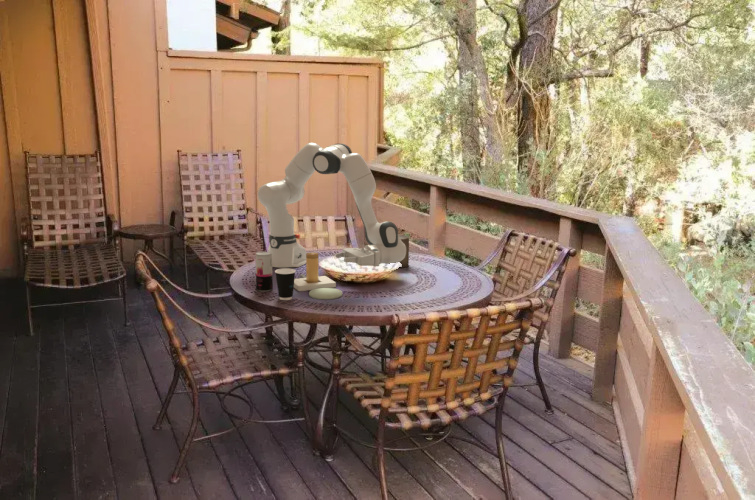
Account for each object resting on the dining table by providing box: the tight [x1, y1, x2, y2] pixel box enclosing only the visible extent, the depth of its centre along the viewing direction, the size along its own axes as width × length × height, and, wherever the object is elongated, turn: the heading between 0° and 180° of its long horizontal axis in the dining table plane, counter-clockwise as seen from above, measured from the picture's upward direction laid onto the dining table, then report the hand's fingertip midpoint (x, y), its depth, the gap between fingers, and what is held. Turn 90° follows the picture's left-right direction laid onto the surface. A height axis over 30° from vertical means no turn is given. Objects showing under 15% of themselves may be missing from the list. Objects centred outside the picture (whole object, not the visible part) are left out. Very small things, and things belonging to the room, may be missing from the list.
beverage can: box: [255, 251, 274, 293], centre depth 268 cm, size 6×7×15 cm
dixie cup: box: [274, 267, 297, 301], centre depth 256 cm, size 8×8×11 cm
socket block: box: [293, 273, 337, 292], centre depth 280 cm, size 16×20×2 cm
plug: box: [305, 252, 320, 283], centre depth 275 cm, size 5×5×14 cm
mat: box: [308, 287, 343, 300], centre depth 263 cm, size 13×13×1 cm
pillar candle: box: [398, 233, 410, 269], centre depth 313 cm, size 10×10×15 cm
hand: (340, 257), depth 279 cm, fingers open, 8 cm apart
